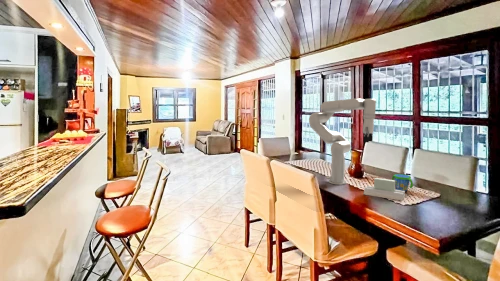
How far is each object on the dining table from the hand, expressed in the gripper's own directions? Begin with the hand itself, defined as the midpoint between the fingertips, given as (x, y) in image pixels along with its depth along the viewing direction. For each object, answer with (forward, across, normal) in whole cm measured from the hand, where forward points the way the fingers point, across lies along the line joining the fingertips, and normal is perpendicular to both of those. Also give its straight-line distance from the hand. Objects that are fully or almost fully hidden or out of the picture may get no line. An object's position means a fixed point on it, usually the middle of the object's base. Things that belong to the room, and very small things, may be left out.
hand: (368, 141), depth 208 cm
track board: (+33, +11, +14) cm, 38 cm away
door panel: (+32, +11, +14) cm, 36 cm away
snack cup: (+34, -10, +21) cm, 41 cm away
